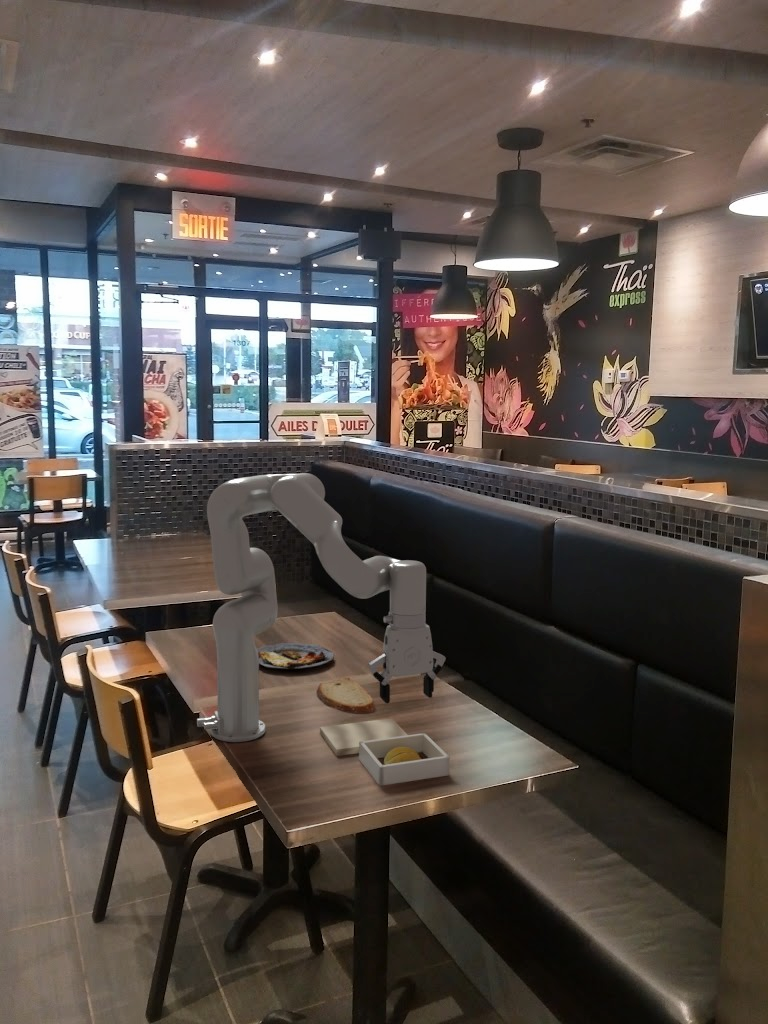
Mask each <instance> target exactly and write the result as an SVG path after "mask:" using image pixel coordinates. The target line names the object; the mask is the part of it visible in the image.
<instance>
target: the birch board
mask: <svg viewBox="0 0 768 1024" xmlns="http://www.w3.org/2000/svg"><path fill="white" fill-rule="evenodd" d="M319 735H320V736H321V737H322V738H323V740H324V741H325V742H326V743H327V745H328V747H330V749H331V750H332V751H333V753H334V755H335V756H336V757H340V756H347V755H354V754H359V742H361V741H369V740H376V739H384V738H391V737H399V736H406V735H408V733H407V732H406V731H405V730H404V729H403V728H402V727H400V725H399V724H398V723H397V722H396V721H395V720H394V719H393V718H381V719H375V720H374V719H373V720H368V721H359V722H352V723H351V722H350V723H344V724H342V723H340V724H334V725H328V726H327V725H326V726H320V727H319Z"/></svg>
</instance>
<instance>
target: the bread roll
mask: <svg viewBox="0 0 768 1024" xmlns="http://www.w3.org/2000/svg"><path fill="white" fill-rule="evenodd" d="M383 758H384V760H383V765H387V764H394V763H401V762H408V761H414V760H421V759H422V758H421V757H420V755H419V752H418V753H417V752H416V751H415V750H413V749H412V748H408V747H397V748H394V749H392V750H391V751H390V752H389V753H388V754H387V755H386V757H383Z"/></svg>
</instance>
